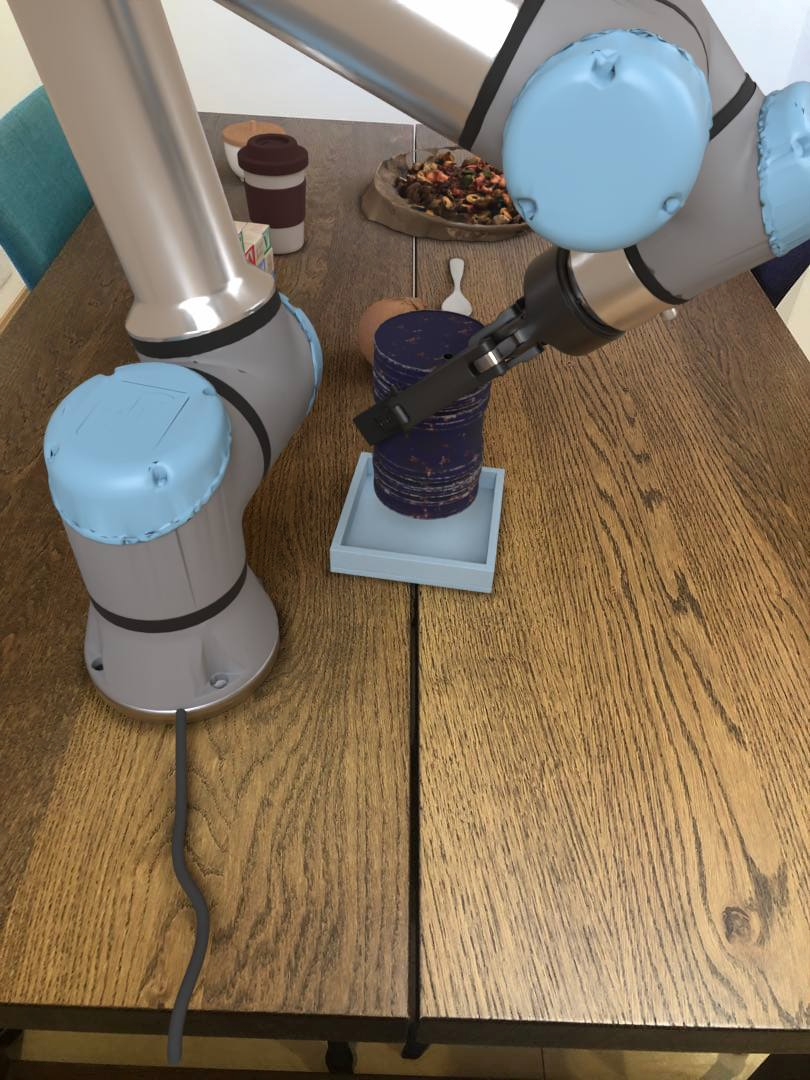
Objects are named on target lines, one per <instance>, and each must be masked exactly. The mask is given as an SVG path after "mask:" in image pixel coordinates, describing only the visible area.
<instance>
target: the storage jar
mask: <svg viewBox="0 0 810 1080" xmlns="http://www.w3.org/2000/svg"><path fill="white" fill-rule="evenodd" d="M485 325H486V324H484V323H483V322H481V321H479V320H478V319H476V318H474V317H472V316H470V315H469V316H467V315H464V314H460V313H456V312H451V311H445V310H442V309H430V310H415V311H409V312H404V313H401V314H398V315H395V316H393V317H390V318H389V319H387V320H385V321H384V322H383V323H381V324H380V325H379V326H378V328H377V329H376V331H375V333H374V361H373V366H372V373H371V374H372V377H371V378H372V389H371V390H372V396H373V402H374V405H375V404H376V403H378V402H380V401H381V400H383V399H385V398H386V397H388V396H389V395H391V394H392V393H391V391H390V390H389V388H390V387H391V386H392V385H394V384H395V383H398V385H399V386H400V388H402V387H405V388H407V387H409V386H410V385H412V384H413V383H415V382H416V381H418V380H419V379H421V378H422V377H424V376H425V375H427V374H428V373H430V372H431V371H433V370H434V369H436V368H437V367H439V366H440V365H442V364H443V363H445V362H446V361H448V360H449V359H451V358H452V357H454V356H455V355H457V354H458V353H460V352H461V351H463V350H464V349H466V348H467V347H468V341H469V339H470V338H471V337H472V336H473V335H474V334H476V333H477V332H479V331H480V330H482V329H483V328H485V327H486V326H485ZM491 333H492V332H491ZM491 333H490V334H491ZM490 334H488V335H487V336H485V337H484V338H482V340H483V339H487V337H488V336H489V335H490ZM492 384H493V380H491V381H489V382H487V383H485V384H483V385H481V386H480V387H478V388H476V389H475V390H473V391H471V392H470V393H468V394H466V395H465V396H463V397H462V398H460V399H458V400H457V401H455V402H453V403H452V404H450V405H448V406H447V407H445V408H443V409H442V410H440V411H438V412H437V413H435V414H433V415H432V416H430V417H428V418H427V419H425V420H424V421H422V422H420V423H419V424H417V425H415V426H414V428H413V429H412V430H410V431H409V430H408V431H407V432H404V431H403V430H400V431H398V432H396V433H394V434H392V435H391V436H389V437H387V438H385V439H383V440H382V441H380V442H378V443H376V444H374V445H373V446H372V452H371V453H372V464H373V469H374V491H375V494H376V496H377V497H378V499H379V500H380V502H381V503H382V504H383V505H384V506H386V507H387V508H389V509H390V510H392V511H394V512H395V513H397V514H400V515H403V516H406V517H410V518H414V519H421V520H435V519H443V518H448V517H451V516H454V515H456V514H459V513H461V512H462V511H464V510H466V509H467V508H468V507H469V506H470V505H472V503H473V502H474V501H475V499H476V497H477V494H478V489H479V478H480V474H481V471H482V466H483V464H484V447H485V440H484V439H485V437H484V435H483V430H484V422H485V421H484V420H485V412H486V410H487V408H488V406H489V402H490V400H491V395H492V394H491V389H492Z"/></svg>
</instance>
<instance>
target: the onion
mask: <svg viewBox="0 0 810 1080" xmlns="http://www.w3.org/2000/svg"><path fill="white" fill-rule="evenodd" d="M415 310H431V309H429V308H428V305H425V302H424V301H422V299H420V298H418V297H413V296H410V297H409V296H405V297H403V296H402V297H386V298H382V299H380V300H377V301H375V302H374V303H371V304H370V305H369V306H368V307H367V309H366V310H365V311H364V313H363V314H362V316H361V318H360V319H359V323H358V328H357V342H358V346H359V349H360V351H361V353H362V355H363V356H364V358H365V359H366V360H367V364H369V365H371V366H372V367H373V361H374V333H375V331H376V329H377V328H378V326H379V325H380V324H381V323H383V322H384V321H385V320H387V319H389V318H390V317H393V316H395V315H398V314H401V313H404V312H409V311H415Z"/></svg>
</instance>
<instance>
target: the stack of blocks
mask: <svg viewBox="0 0 810 1080" xmlns="http://www.w3.org/2000/svg"><path fill="white" fill-rule="evenodd" d="M234 223H235V226H236V229H237V232H238V235H239V238H240V241H241V244H242V247H243V250H244V253H245V256H246V258H247V260H248V261H249V262H250V263H252V264H254V265H256V266H258V267H260V268H262V269H264V270H265V271H267V272H269V273H270V274H271V275H272V276H273V278H274V280H275V281H276V276H275V264H274V263H275V260H274V254H273V249H272V248H271V236H270V226H269V225H265V224H257V223H252V222H249V221H248V222H246V221H237V220H234Z"/></svg>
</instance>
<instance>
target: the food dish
mask: <svg viewBox="0 0 810 1080" xmlns="http://www.w3.org/2000/svg"><path fill="white" fill-rule="evenodd" d="M443 149H444V150H449V151H444V152H441V153H439V154H438V152H439V151H440V150H443ZM456 150H460V151H461V150H465V149H464V148H462V147H460V146H459V145H457V144H455V145H446V146H444V147H437V146H433V147H424V148H418V149H415V150H413V152H414V153H417V152H429V153H431V154H430V155H428V156H427V157H426V158H425V159H424V161H423V162H421V161H416V162H413V163H412V165H411V166H409V165H408V163H407V155H410V151H407V152H405V151H404V152H402V153H398V154H395V155H393V156H391V157H390V158H389V159H383V160H381V161H380V162H379V164H378V166H377V169H376V171H375V172H374V175H373V177H372V179H371V181H370V184H369V186H368V187H367V189H366V191H365V193H363V195H362V196H361V200H362V201H361V210H362V211H363V213H364V215H365V216H366V217H367V220H370V221H373V222H377V223H379V224H382V225H384V226H387V227H388V228H390V229H392V230H395V231H397V232H401V233H403V234H406V235H409V236H412V237H416V238H426V237H427V238H430V239H434V240H438V241H448V240H452V241H455V240H456V241H462V242H463V241H466V242H470V243H471V242H481V241H483V242H497V241H501V240H507V239H510V238H513V237H516V236H522V235H524V234H526V233H527V232H531V231H533V230H532V229H531V227H530V226H529V225H528V224H527V222H526V221H525V220H524V219H523V218H522V216H521V215H520V213H519V212H518V211H517V209H516V207H515V205H514V203H513V201H512V199H511V197H510V195H509V193H508V191H507V187H506V183H505V179H504V173H502V172H501V171H499V170H498V169H496V168H494V167H493V166H491V165H490V164H488V163H486V162H485V161H483V160H482V159H480V158H479V157H477V156H475V155H474V156H473V157H467V158H465V159H464V160H463V161H462V162H461V164H457V162H454V161H455V157H456V156H455V154H454V153H453V151H456ZM451 151H452V152H451ZM437 154H438V155H437Z"/></svg>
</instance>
